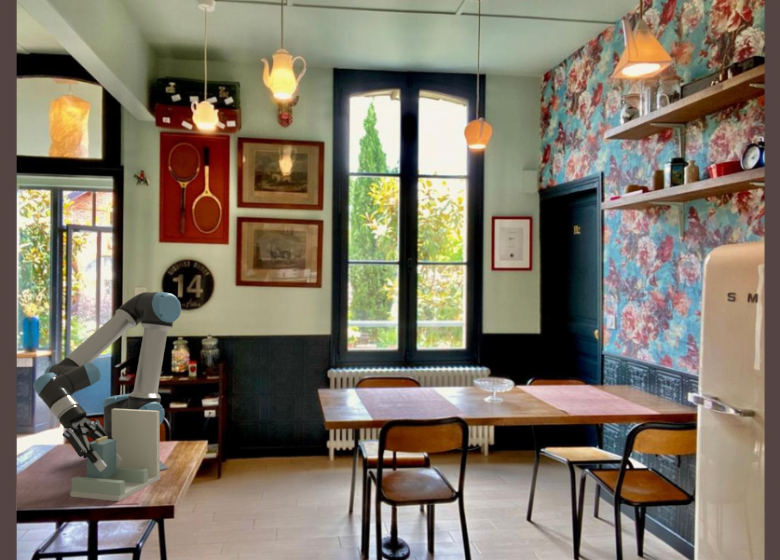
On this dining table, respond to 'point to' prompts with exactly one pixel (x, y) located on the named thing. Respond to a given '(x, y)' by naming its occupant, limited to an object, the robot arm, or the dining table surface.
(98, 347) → the robot arm
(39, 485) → the dining table surface
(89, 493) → the pale green rail stand
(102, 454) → the teal block with bar
